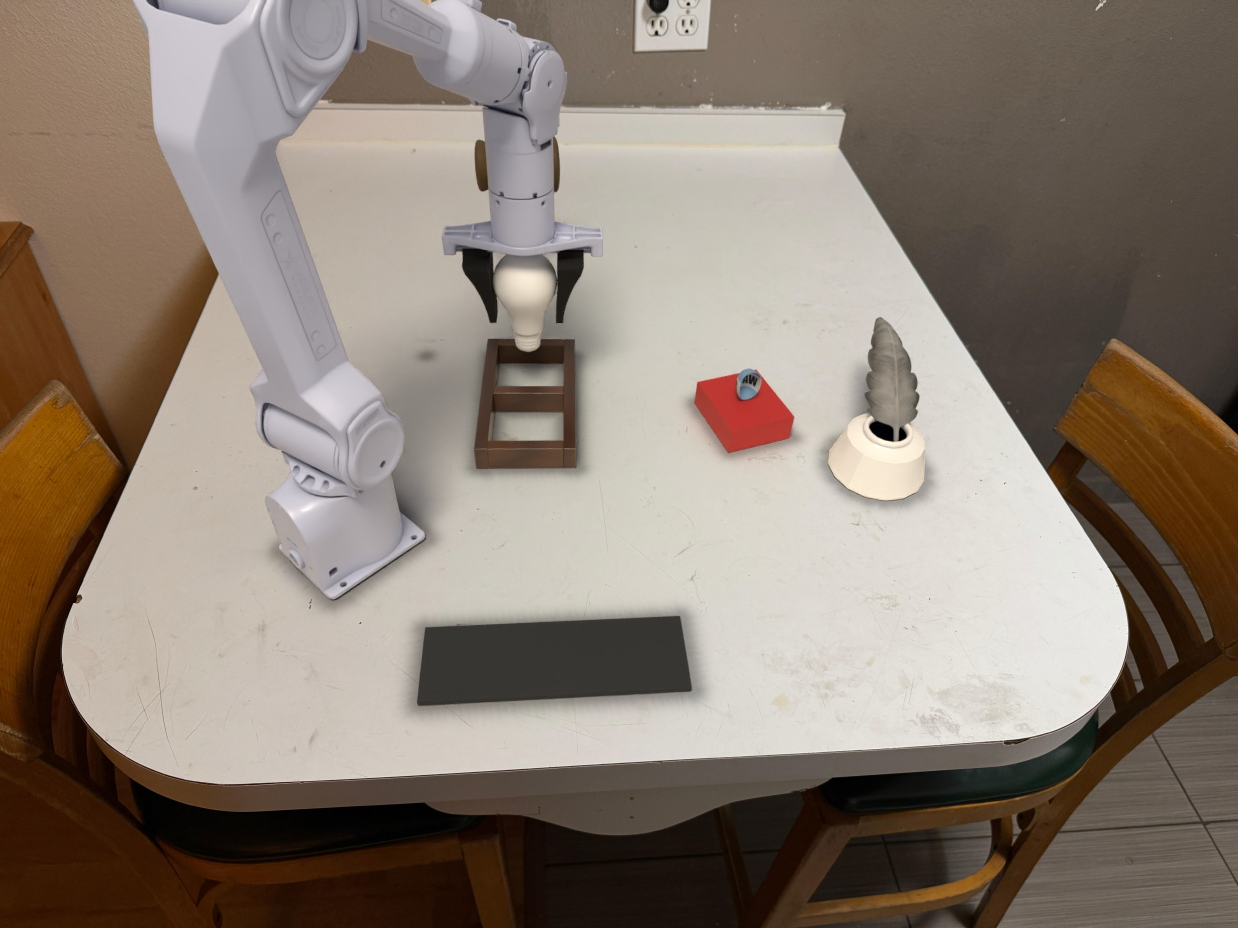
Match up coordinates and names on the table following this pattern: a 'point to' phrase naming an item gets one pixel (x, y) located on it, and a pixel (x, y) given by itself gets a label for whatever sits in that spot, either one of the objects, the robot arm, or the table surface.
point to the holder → (527, 407)
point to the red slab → (743, 410)
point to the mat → (552, 660)
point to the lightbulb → (525, 295)
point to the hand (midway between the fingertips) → (527, 317)
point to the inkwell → (883, 427)
